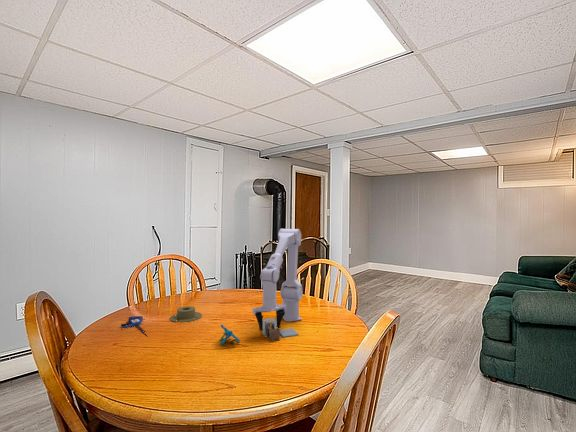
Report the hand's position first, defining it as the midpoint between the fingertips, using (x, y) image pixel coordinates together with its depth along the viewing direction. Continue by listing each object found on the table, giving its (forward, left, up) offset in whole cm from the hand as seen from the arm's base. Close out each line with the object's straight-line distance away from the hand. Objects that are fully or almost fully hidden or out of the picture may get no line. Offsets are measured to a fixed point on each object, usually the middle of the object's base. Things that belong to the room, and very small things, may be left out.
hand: (269, 328), depth 128 cm
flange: (-35, -32, -3) cm, 47 cm away
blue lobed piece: (+2, -17, -3) cm, 18 cm away
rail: (0, 0, -2) cm, 2 cm away
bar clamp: (-24, -52, -3) cm, 57 cm away
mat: (+2, +8, -2) cm, 8 cm away
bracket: (0, 0, -2) cm, 2 cm away
